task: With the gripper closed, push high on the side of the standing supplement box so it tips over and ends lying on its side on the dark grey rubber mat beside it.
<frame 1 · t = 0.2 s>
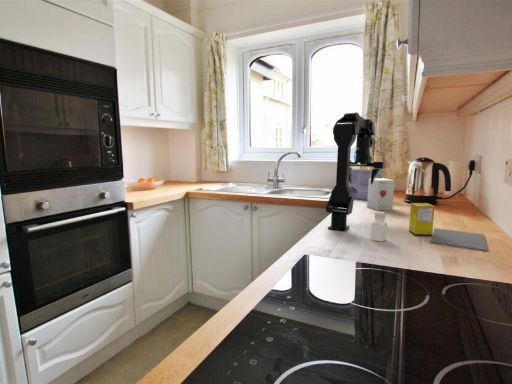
hand: (360, 183, 140), 14 cm above the worktop, tool pointing down, fingers open, 9 cm apart
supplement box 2: (379, 208, 158), on the worktop
pepper shaker: (378, 240, 105), on the worktop
cake pan box: (365, 199, 185), on the worktop
rubber mat: (457, 239, 107), on the worktop
supplement box: (419, 234, 113), on the worktop
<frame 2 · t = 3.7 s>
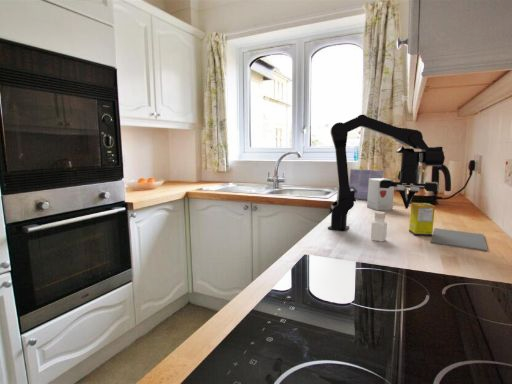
hand: (406, 208, 114), 9 cm above the worktop, tool pointing down, fingers closed
supplement box: (419, 234, 113), on the worktop, touching gripper
everything else where it was.
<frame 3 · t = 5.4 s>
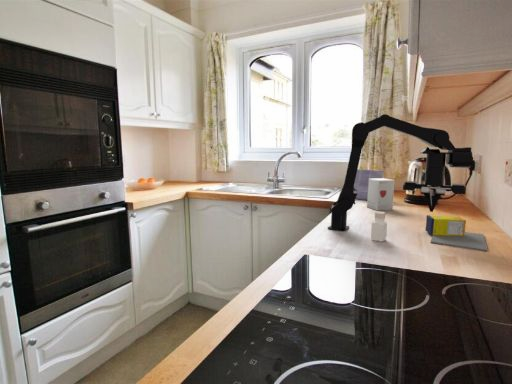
hand: (431, 211, 110), 9 cm above the worktop, tool pointing down, fingers closed
supplement box: (427, 224, 112), point 3 cm above the worktop, touching rubber mat
everything else where it was.
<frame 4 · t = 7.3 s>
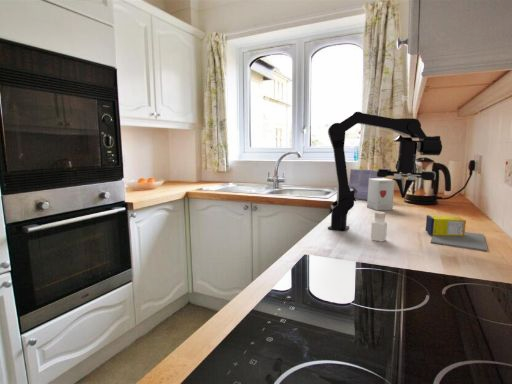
hand: (403, 197, 114), 13 cm above the worktop, tool pointing down, fingers closed
nothing on the worktop moved.
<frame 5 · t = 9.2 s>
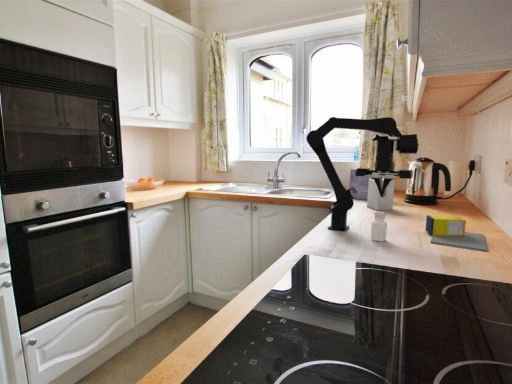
hand: (382, 196, 114), 13 cm above the worktop, tool pointing down, fingers closed
nothing on the worktop moved.
at the end: supplement box tilted 90°; supplement box inside the target area (5.1 cm from its centre), point 3.5 cm above the worktop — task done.
